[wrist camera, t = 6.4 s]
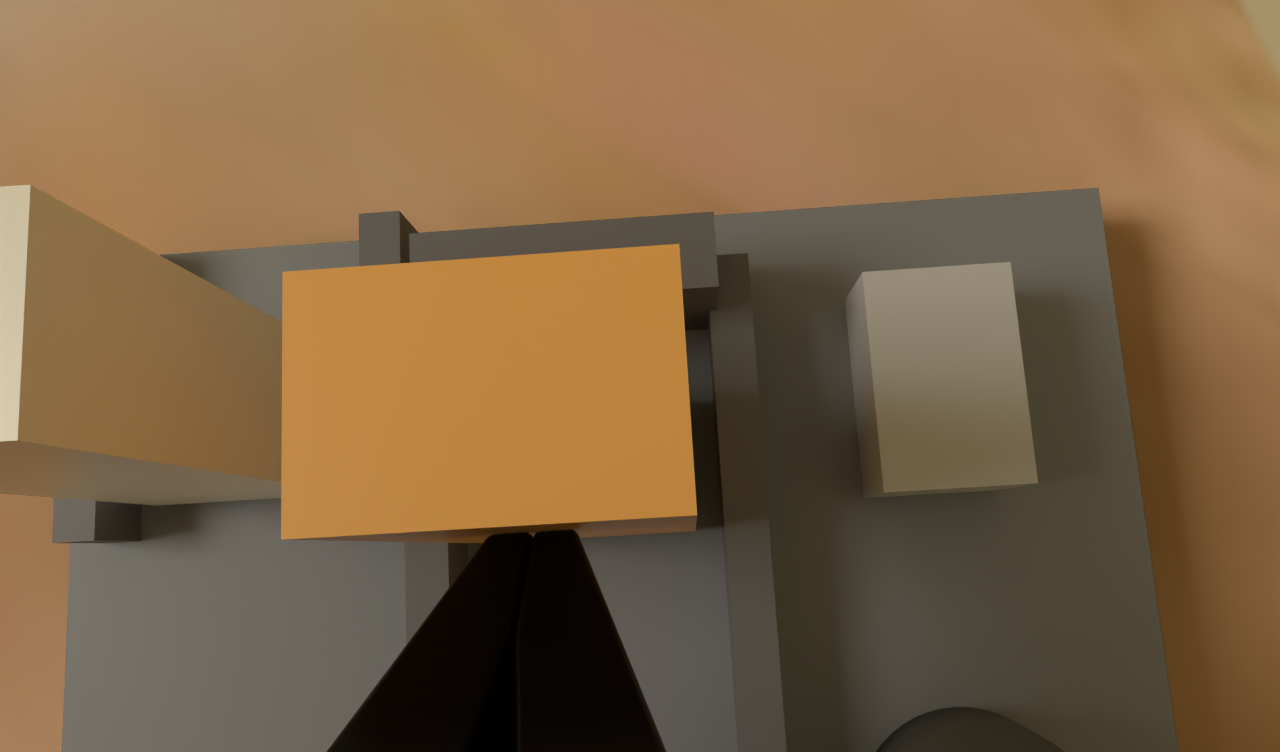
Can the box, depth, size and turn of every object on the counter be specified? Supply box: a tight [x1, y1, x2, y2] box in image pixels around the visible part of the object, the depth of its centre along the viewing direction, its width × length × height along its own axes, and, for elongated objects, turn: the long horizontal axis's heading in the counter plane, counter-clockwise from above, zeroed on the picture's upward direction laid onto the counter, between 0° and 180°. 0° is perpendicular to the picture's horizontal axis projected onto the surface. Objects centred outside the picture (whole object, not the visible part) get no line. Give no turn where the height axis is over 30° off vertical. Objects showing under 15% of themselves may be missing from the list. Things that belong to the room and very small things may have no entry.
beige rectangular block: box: [0, 185, 282, 506], centre depth 11 cm, size 2×3×8 cm, turn 93°
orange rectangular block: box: [281, 244, 697, 543], centre depth 11 cm, size 2×3×8 cm, turn 93°
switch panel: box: [52, 188, 1179, 752], centre depth 14 cm, size 12×16×4 cm
